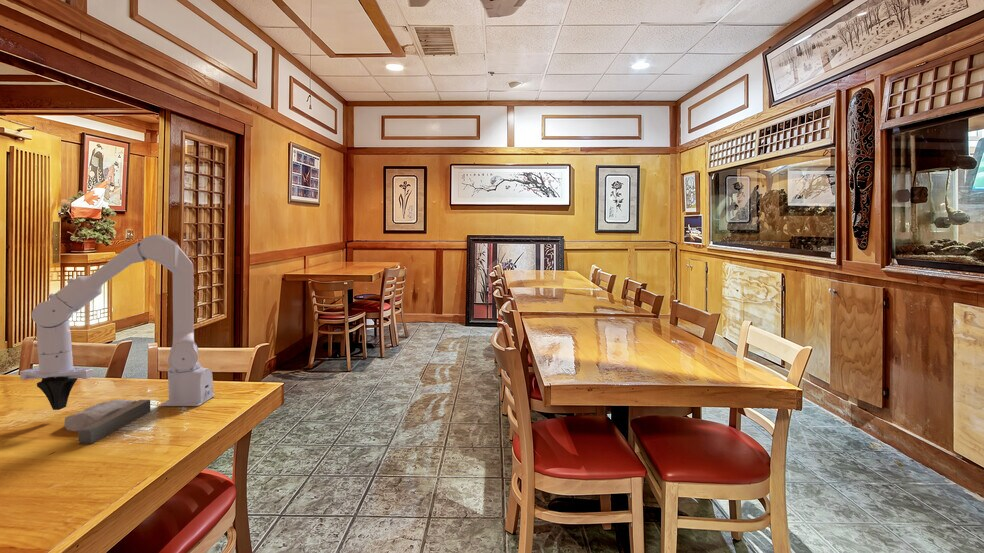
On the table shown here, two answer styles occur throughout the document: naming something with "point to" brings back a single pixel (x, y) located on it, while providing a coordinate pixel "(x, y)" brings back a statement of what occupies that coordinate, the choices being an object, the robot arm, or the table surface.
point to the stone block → (94, 414)
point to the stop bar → (113, 422)
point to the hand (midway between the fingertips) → (59, 408)
